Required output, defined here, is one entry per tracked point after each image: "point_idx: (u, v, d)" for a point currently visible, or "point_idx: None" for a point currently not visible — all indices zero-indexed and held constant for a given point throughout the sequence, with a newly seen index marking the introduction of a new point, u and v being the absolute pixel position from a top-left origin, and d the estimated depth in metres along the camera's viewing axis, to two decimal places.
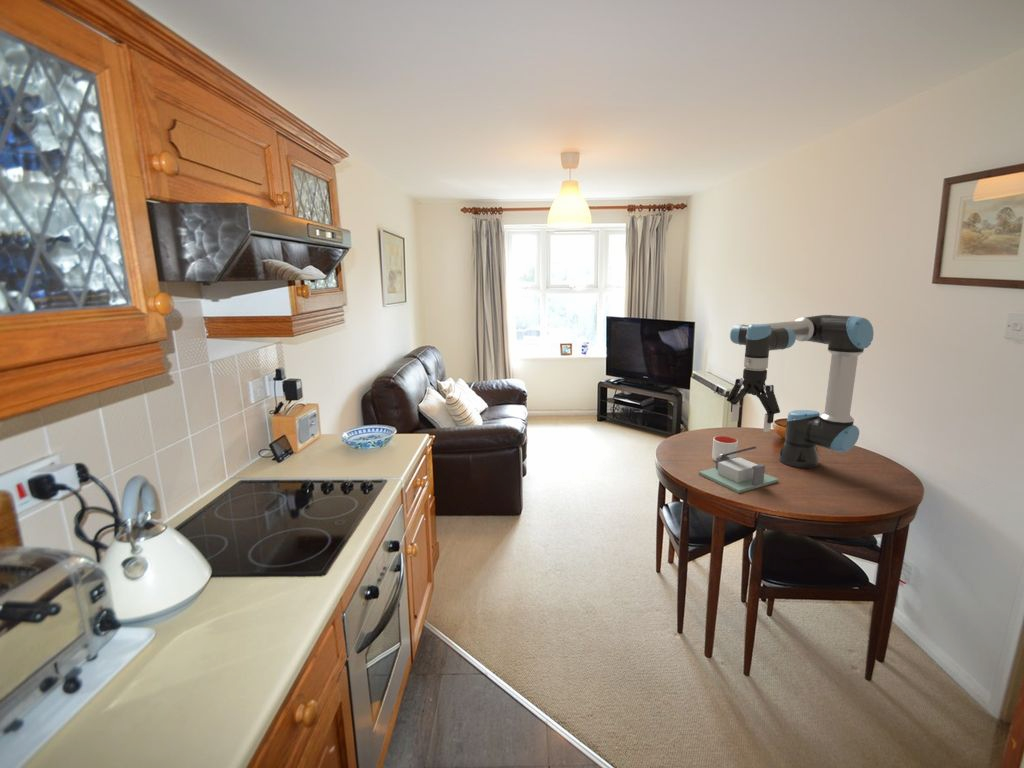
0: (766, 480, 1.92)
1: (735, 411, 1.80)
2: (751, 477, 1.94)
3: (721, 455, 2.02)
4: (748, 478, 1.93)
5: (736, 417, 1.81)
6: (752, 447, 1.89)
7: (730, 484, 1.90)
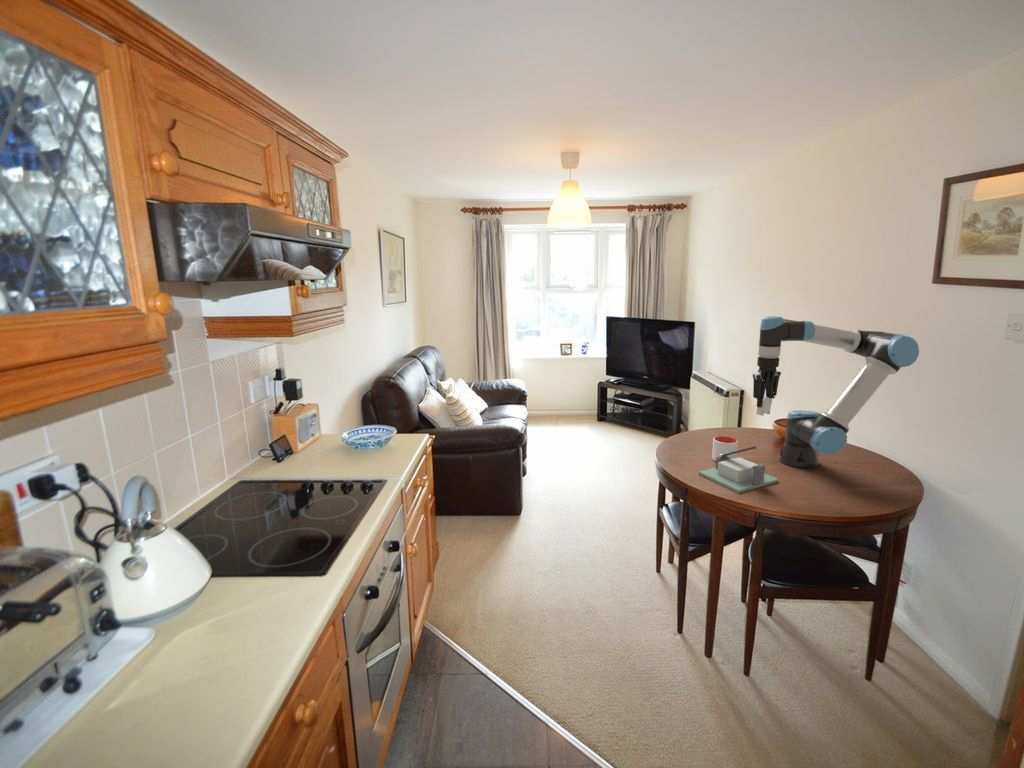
0: (766, 480, 1.92)
1: (765, 404, 1.94)
2: (751, 477, 1.94)
3: (721, 455, 2.02)
4: (748, 478, 1.93)
5: (766, 410, 1.94)
6: (752, 447, 1.89)
7: (730, 484, 1.90)
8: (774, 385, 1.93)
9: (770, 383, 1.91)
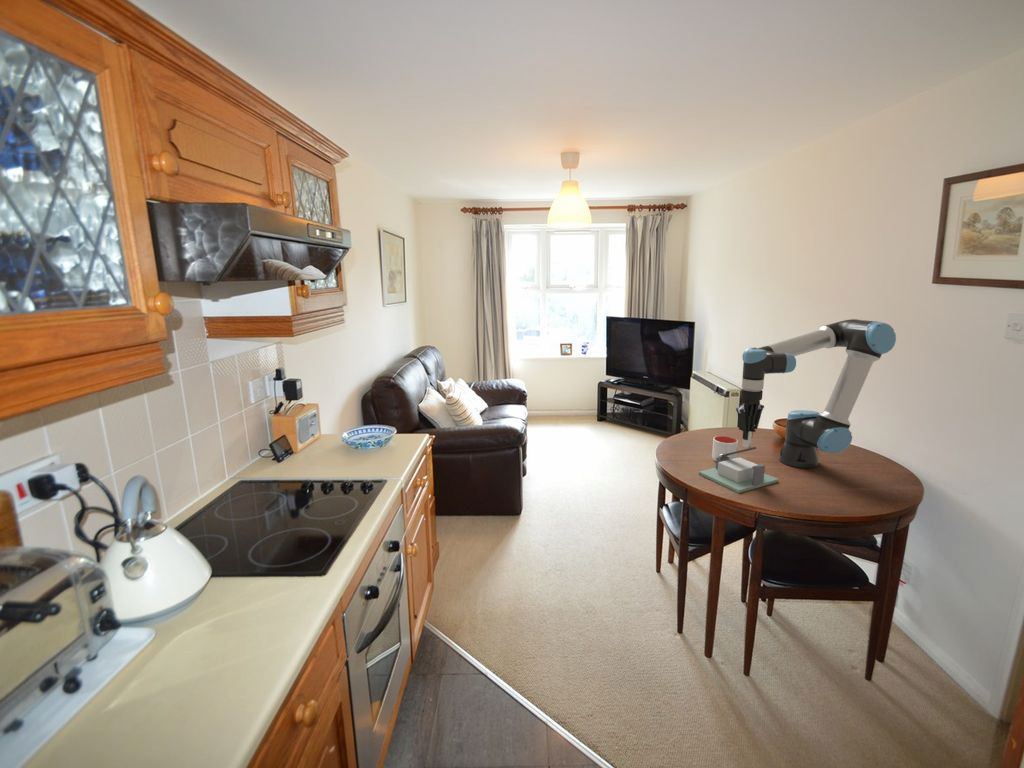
0: (766, 480, 1.92)
1: None
2: (751, 477, 1.94)
3: (721, 455, 2.02)
4: (748, 478, 1.93)
5: None
6: (752, 448, 1.89)
7: (730, 484, 1.90)
8: (756, 418, 1.90)
9: (752, 416, 1.89)
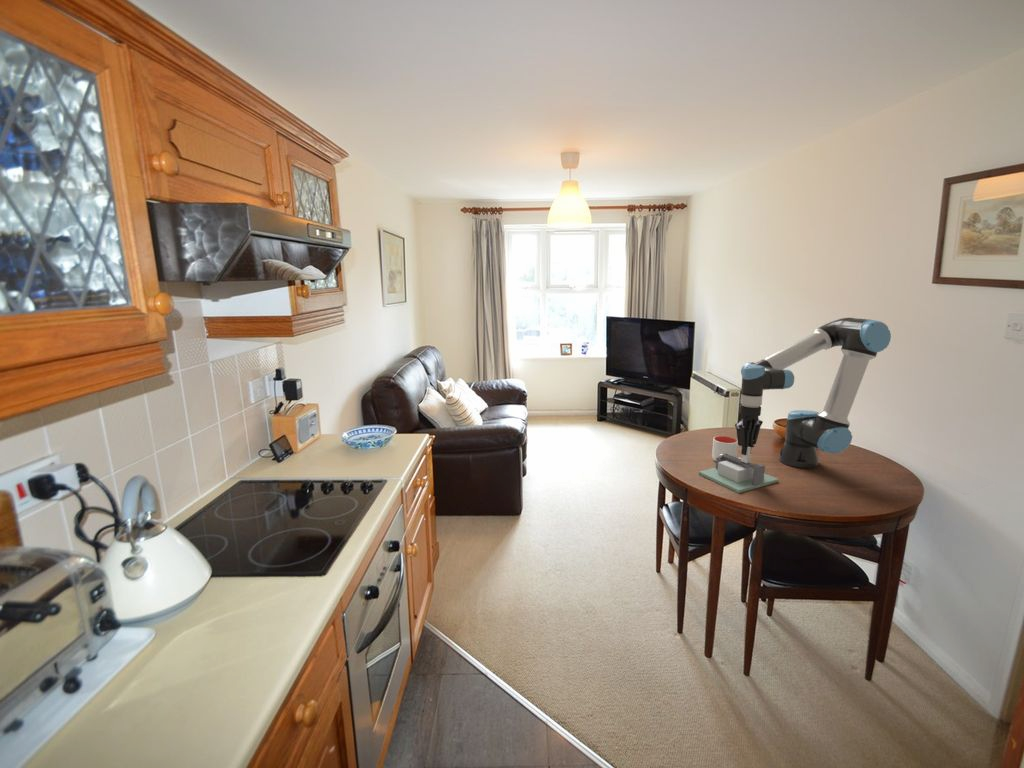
0: (766, 480, 1.92)
1: None
2: (751, 477, 1.94)
3: (721, 456, 2.02)
4: (748, 478, 1.93)
5: None
6: None
7: (730, 484, 1.90)
8: (755, 433, 1.92)
9: (751, 431, 1.90)
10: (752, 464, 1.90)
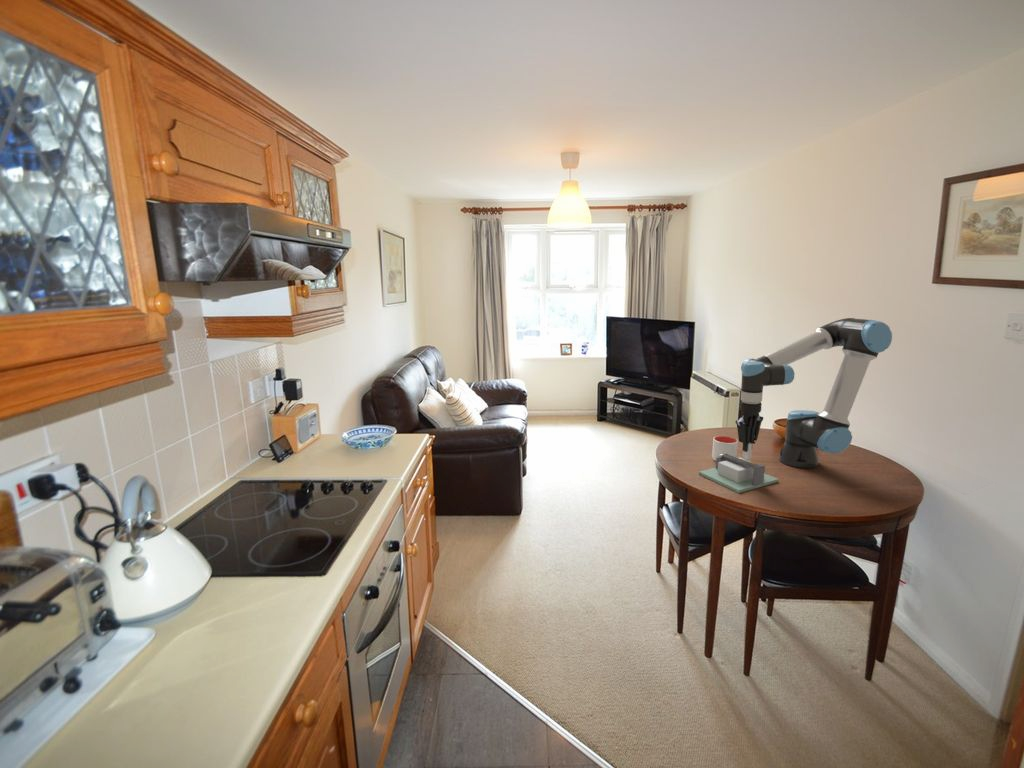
0: (766, 480, 1.92)
1: None
2: (751, 477, 1.94)
3: (721, 456, 2.02)
4: (748, 478, 1.93)
5: None
6: None
7: (730, 484, 1.90)
8: (755, 430, 1.92)
9: (752, 428, 1.90)
10: (752, 464, 1.90)
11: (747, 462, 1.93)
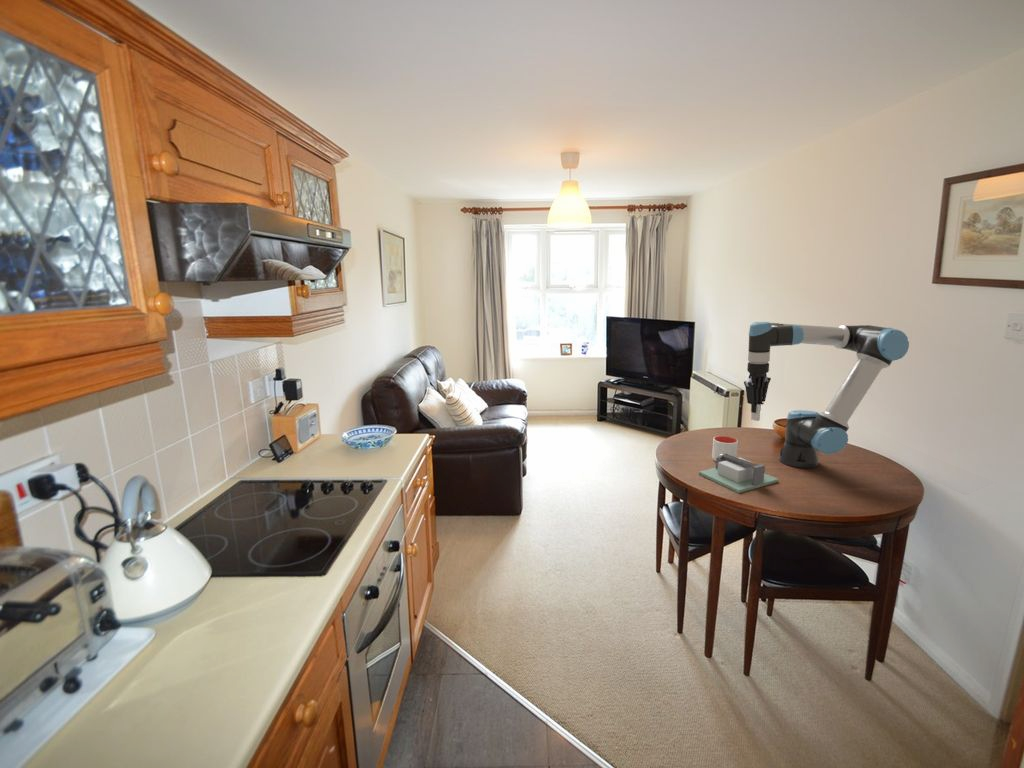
0: (766, 480, 1.92)
1: None
2: (751, 477, 1.94)
3: (721, 456, 2.02)
4: (748, 478, 1.93)
5: None
6: None
7: (730, 484, 1.90)
8: (763, 391, 1.92)
9: (760, 389, 1.90)
10: (752, 464, 1.90)
11: (747, 462, 1.93)
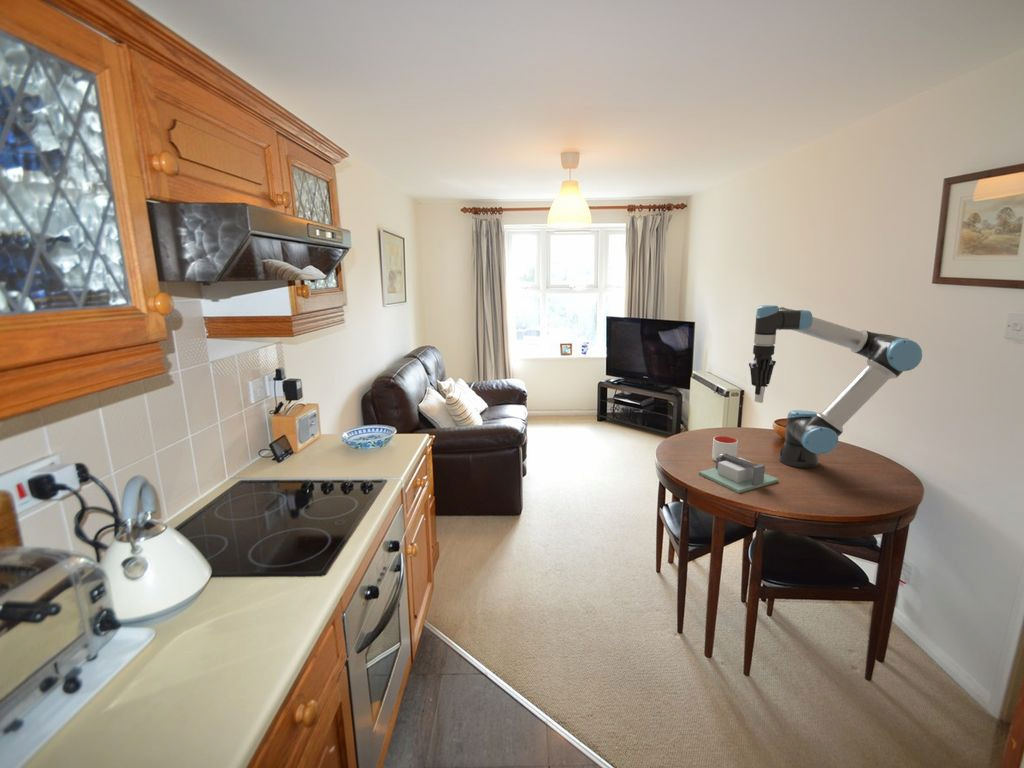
0: (766, 480, 1.92)
1: None
2: (751, 477, 1.94)
3: (721, 456, 2.02)
4: (748, 478, 1.93)
5: None
6: None
7: (730, 484, 1.90)
8: (768, 373, 1.96)
9: (764, 371, 1.94)
10: (752, 464, 1.90)
11: (747, 462, 1.93)
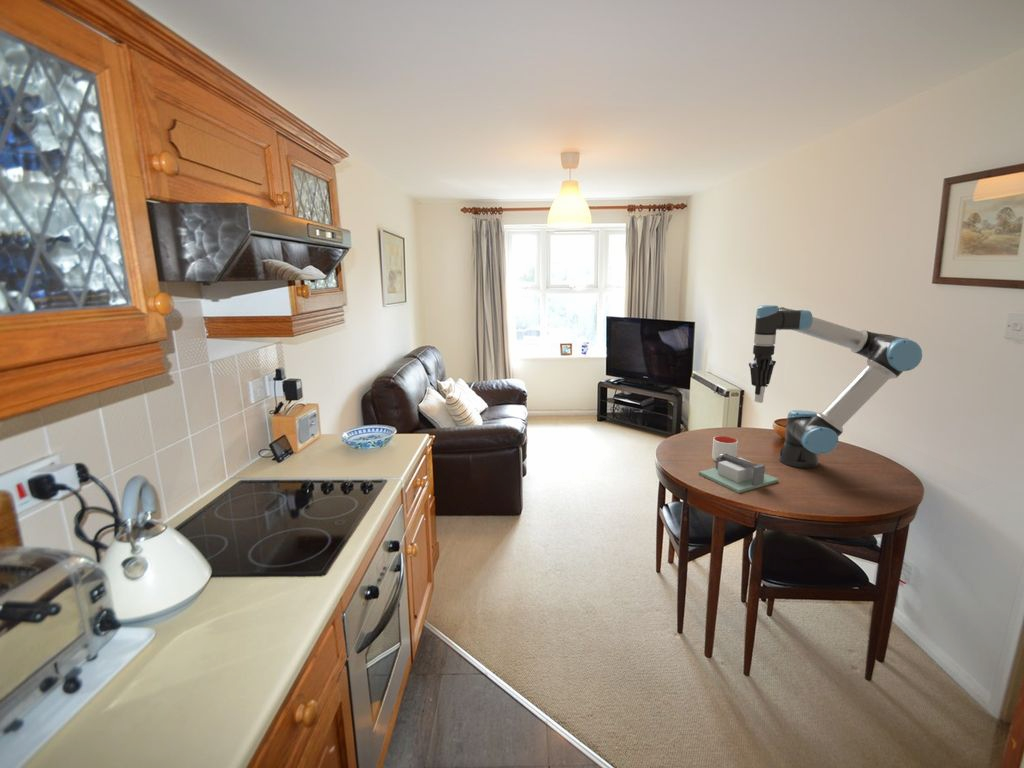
0: (766, 480, 1.92)
1: None
2: (751, 477, 1.94)
3: (721, 456, 2.02)
4: (748, 478, 1.93)
5: None
6: None
7: (730, 484, 1.90)
8: (768, 373, 1.96)
9: (764, 371, 1.94)
10: (752, 464, 1.90)
11: (747, 462, 1.93)
